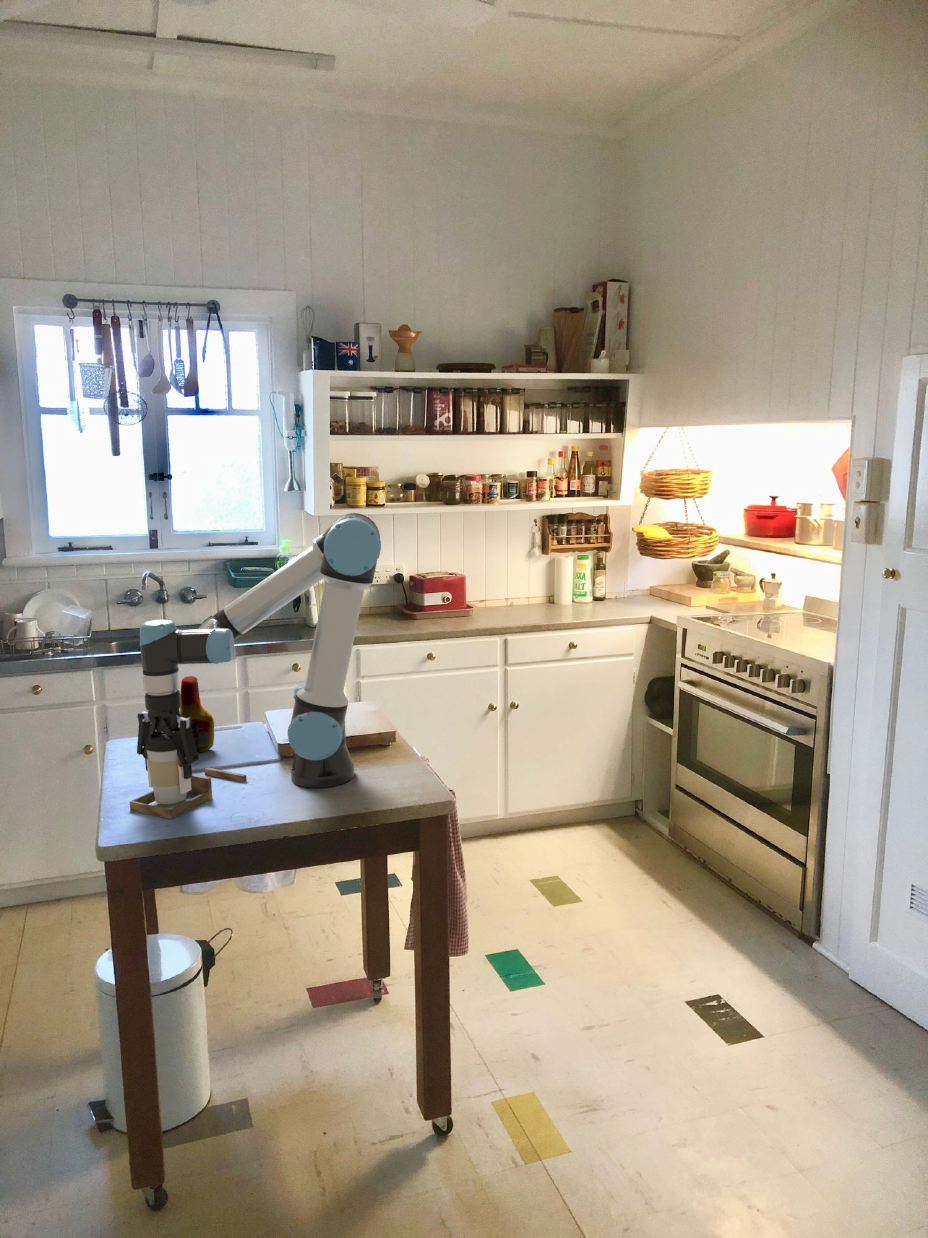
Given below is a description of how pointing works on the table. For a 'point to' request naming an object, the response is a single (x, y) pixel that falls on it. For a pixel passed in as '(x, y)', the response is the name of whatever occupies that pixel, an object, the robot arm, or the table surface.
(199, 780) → the tray
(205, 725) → the bottle
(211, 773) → the rail
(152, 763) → the coffee cup
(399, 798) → the table surface
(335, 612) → the robot arm
